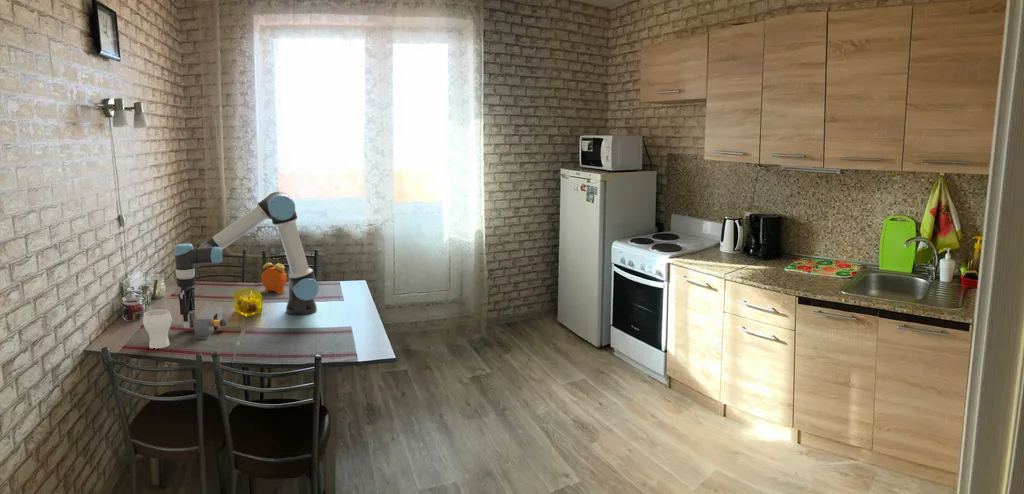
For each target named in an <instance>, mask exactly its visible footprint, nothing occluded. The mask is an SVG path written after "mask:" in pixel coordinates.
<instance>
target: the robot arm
mask: <svg viewBox="0 0 1024 494" xmlns="http://www.w3.org/2000/svg"><path fill="white" fill-rule="evenodd" d="M266 220H270V221H271V222H272V225H274V226H276V227H277V231H278V235H279V237H280V241H281V243H282V247H283V250H284V253H285V256H286V261H287V263H288V266H289V269H288V275H287V277H288V300H287V303H286V307H285V311H286V313H287V314H289V315H294V316H304V315H309V314H313V313H316V312H317V304H316V301H315V299H314V298H316V296H317V295H318V293H319V290H320V289H319V287H320V286H319V282H318V281H317V280H316V277H315V273H314V269H313V268H311V267H310V266H309V264H308V260H307V257H306V253H305V250H304V247H303V244H302V239H301V238H300V234H299V233H300V232H299V230H298V225H297V223H296V221H297V220H298V215H297V212H296V204H295V201H294V200H293V199H292V198H291V196H289V195H288V194H287V193H284V192H282V191H274V192H272V193H270V194H268V195H267V196H266V197H265V198H264V199H262V200H260V202H258V203H257V204H256V207H254V208H253V209H252V210H250V211H249V212H248V213H246V214H244V215H243V216H241V217H240V218H239V219H237V220H235V221H234V222H232V223H231V224H230V225H228V226H227V227H225V228H223V229H222V230H221V231H219V232H218V233H216V234H215V235H214V236H212V237H211V238H210V239H207V240H204V241H203V242H201V244H199V246H198V247H194V245H193V244H192V243H177V244H175V246H174V261H175V262H174V263H175V270H174V273H175V275H176V286H177V287H179V288H181V289H180V293H179V294H178V299H179V300H178V301H179V311H180V315H183V317H182V328H183V327H184V328H183V329H191V328H190V314H189V311H196V308H195V307H196V304H195V303H196V301H195V299H196V297H195V290H196V289H195V287H194V286H195V285H196V278H195V276H196V273H195V265H205V264H206V265H209V264H219V263H222V262H223V250H224V249H226V248H227V247H228V246H230V245H231V244H233V243H234V242H236V241H238V240H239V239H241V238H242V237H243V236H244V235H246V234H247V233H249V232H250V231H252V230H254V229H255V228H257V226H259V225H261V224H262V223H263V222H265V221H266Z"/></svg>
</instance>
